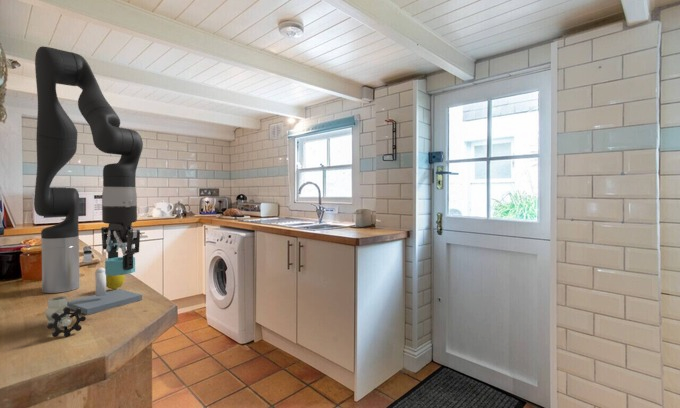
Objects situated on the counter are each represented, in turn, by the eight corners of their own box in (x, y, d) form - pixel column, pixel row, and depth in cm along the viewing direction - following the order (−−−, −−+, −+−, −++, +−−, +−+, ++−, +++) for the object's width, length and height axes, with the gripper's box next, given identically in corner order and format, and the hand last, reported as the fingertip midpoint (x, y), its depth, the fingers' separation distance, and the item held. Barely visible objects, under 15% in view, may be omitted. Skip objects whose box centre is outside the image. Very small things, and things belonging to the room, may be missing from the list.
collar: (100, 273, 84) (100, 259, 84) (126, 268, 90) (126, 255, 90) (114, 276, 81) (113, 262, 81) (140, 271, 87) (140, 258, 87)
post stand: (65, 307, 90) (64, 269, 89) (119, 293, 102) (119, 260, 102) (87, 315, 84) (86, 274, 84) (142, 299, 96) (141, 264, 96)
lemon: (114, 293, 102) (114, 268, 102) (99, 292, 103) (99, 267, 103) (129, 288, 107) (128, 264, 107) (115, 287, 109) (114, 263, 108)
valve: (37, 327, 76) (47, 342, 69) (36, 299, 76) (46, 311, 68) (73, 319, 81) (86, 332, 74) (72, 293, 81) (85, 303, 74)
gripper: (89, 203, 85) (90, 267, 86) (119, 205, 78) (120, 274, 79) (120, 203, 92) (120, 262, 92) (150, 204, 85) (151, 268, 85)
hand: (120, 267), depth 85 cm, fingers closed on collar, 6 cm apart
